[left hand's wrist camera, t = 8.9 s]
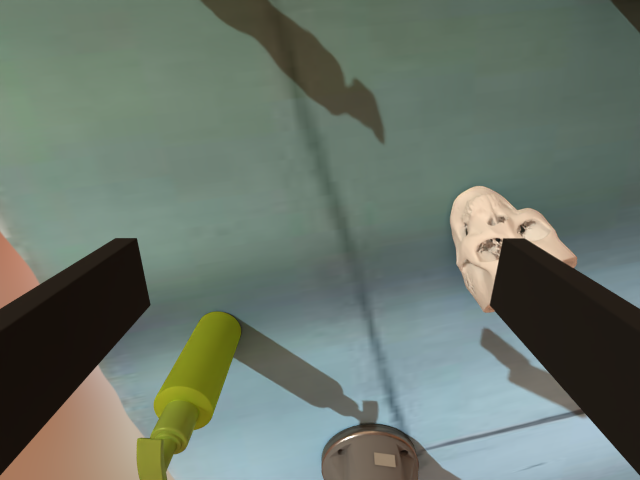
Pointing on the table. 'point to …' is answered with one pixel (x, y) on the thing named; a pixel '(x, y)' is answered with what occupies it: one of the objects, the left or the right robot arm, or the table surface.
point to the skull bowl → (490, 223)
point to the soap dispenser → (189, 393)
